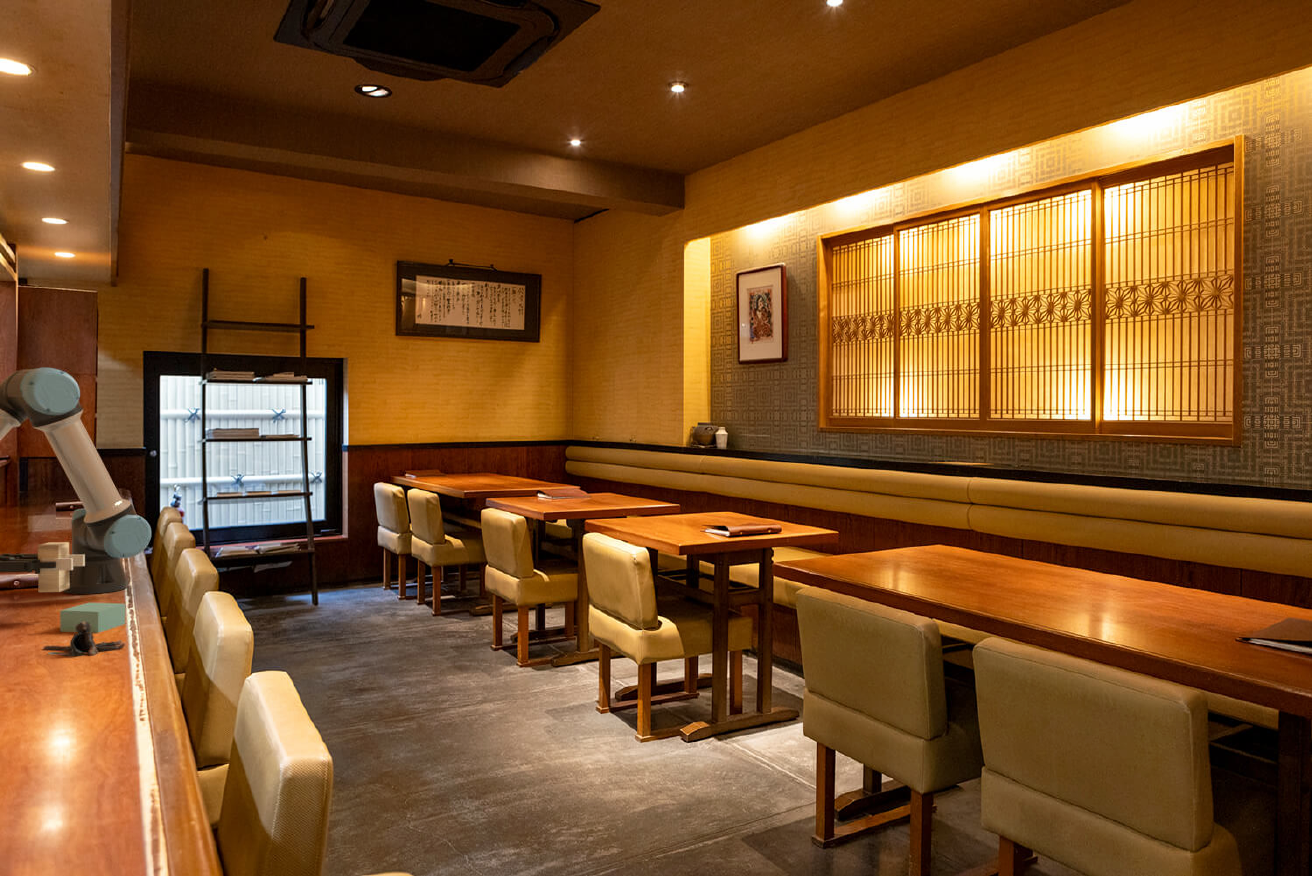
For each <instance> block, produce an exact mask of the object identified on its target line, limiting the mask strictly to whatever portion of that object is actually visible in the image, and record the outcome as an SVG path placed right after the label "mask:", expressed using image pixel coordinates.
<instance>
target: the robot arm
mask: <svg viewBox="0 0 1312 876" xmlns="http://www.w3.org/2000/svg"><path fill="white" fill-rule="evenodd" d="M80 389H81V388H80V386H79V384H78V383H77V381H76V379H74V377H73V376H72V375H70V374H69V373H68V372H66V371H63V370H61V369H59V368H53V367H39V368H24V369H23V368H22V369H19V370H16V371H15V372H13V373H11V374H9V375H8V376H7V377H6V378H5V379H4V380H2V382H0V442H1V441H2V440H3V439H4V438H5V436H7V434H8V433H9V432H10V431H11V430H12V429H13V428H18V427H20V426H21V425H22V424H23V423H24V422H25V421H26V420H27V419H28V420H29V422H30V425H31V427H32V428H33V429H36V430H39V431H42V432H43V433H44V435H45V437H46V439H47V441H48V443H49V444H50V447H51V448H52V450H53V452H54V454H55V456H56V458H57V460H58V462H59V463H60V466H61V467H62V469H63V470H64V473H65V475H66V476H67V478H68V480H69V482H70V483H71V485H72V487H73V490H74V491H75V493H76V495H77V497H78V498H79V500H80V502H81V504H82V506H83V508H77V509H75V510H74V511H73V512H72V517H71V521H70V523H71V554H69V558H43V559H41V562H40V560H38V553H20V552H17V553H13V554H12V553H1V554H0V573H8V574H9V573H32V572H34V574H35V575H38V574H40V569H42V571H45V570H69V582H70V588H68V589H66V590H63V593H66V594H71V595H72V594H74V595H85V594H86V595H90V594H91V595H92V594H102V593H111V592H118V591H121V590H125V589H127V588H128V583H129V582H128V577H127V575H126V572H125V569H124V565H123V564H122V559H128V558H132V557H133V558H134V557H135V556H137V555H139V554H141V553H142V552H143V551H145V549H146V548H147V547H148V545H149V543H150V541H151V538H152V528H151V525H150V524H149V522H148V521H147V520H146V519H144V517H142V516H140V515H138V514H137V512H136V510H135V507H134V505H133V504H132V502H131V501H130V500H128V499H125V498H122V497H121V495H120V493H119V491H118V489H117V486H115V484H114V482H113V480H112V477H111V476H110V473H109V471H108V470H107V468H106V466H105V464H104V462H103V460H102V458H101V456H100V454H99V452H98V451H97V448H96V447H95V444H94V443H93V441H92V439H91V436H90V435H89V433H88V431H87V428H85V426H84V424H83V421H82V419H81V417H82V414H83V413H84V408H83V407H82V404H81V403H80V397H81V390H80Z"/></svg>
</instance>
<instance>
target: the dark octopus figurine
mask: <svg viewBox="0 0 1312 876" xmlns="http://www.w3.org/2000/svg"><path fill="white" fill-rule="evenodd" d="M75 629H76V631H77V632H76V633H75V634H74V635H73V636H72V638H71V640H70V645H68V646H67V645H66V646H64V645H63V646H60V645H53V644H52V645H46V646H43V650H45V651H51V652H48V653H47V655H54V656H61V657H68V658H69V657H70V658H72V657H73V658H74V657H75V658H77V657H82V656H83V657H84V656H86V655H88V657H89V656H96V655H97V654H98V653H103V652H110V651H111V652H112V651H117V650H118V651H119V650H121V649H123V648H124V647H125V646H126V643H125V642H123V641H122V640H121V639H120V640H116V641H110V642H105V641H103V642H99V643H97V644H96V643H95V641H94V634H93V633H90V629H91V624H89V623H88V622H82V623H79V624H78V625H77V626H76V627H75ZM53 651H54V652H53ZM55 651H56V652H55ZM59 651H60V652H59ZM61 651H62V652H61ZM63 651H64V652H63Z"/></svg>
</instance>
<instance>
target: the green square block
mask: <svg viewBox="0 0 1312 876" xmlns="http://www.w3.org/2000/svg"><path fill="white" fill-rule="evenodd" d="M59 612H60V613H59V614H60V616H59V617H60V618H59V619H60V621H59V622H60V623H59V624H60V626H59V628H60V630H59V631H60V632H61V633H64V632H66V633H67V632H68V633H77V631H76V629H75V627H76V626H77V625H78V624H79V623H82V622H88V623H89V624H91V629H90V633H92V634H95V633H96V634H99V633H102V632H105V631H108V630H111V629H114V628H118V627H120V626H123V625H126V603H116V602H115V603H113V602H86V603H83V604H78V605H75V606H72V607H68V608H65V609H61V610H60V611H59Z"/></svg>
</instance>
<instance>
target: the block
mask: <svg viewBox="0 0 1312 876" xmlns="http://www.w3.org/2000/svg"><path fill="white" fill-rule="evenodd" d="M37 554H38V560H40V562H41V559H43V558H69V555H70V542H69V541H68V542H67V541H64V542H63V541H60V542H53V541H52V542H46V543H41V544H38V545H37ZM37 575H38V577H37V578H38V582H37V583H38V585H37V586H38V587H37V588H38V590H37V591H38V593H61V592H64V590H66V589H68V588H70V582H69V570H45V571H42V569H40V574H37Z"/></svg>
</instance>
